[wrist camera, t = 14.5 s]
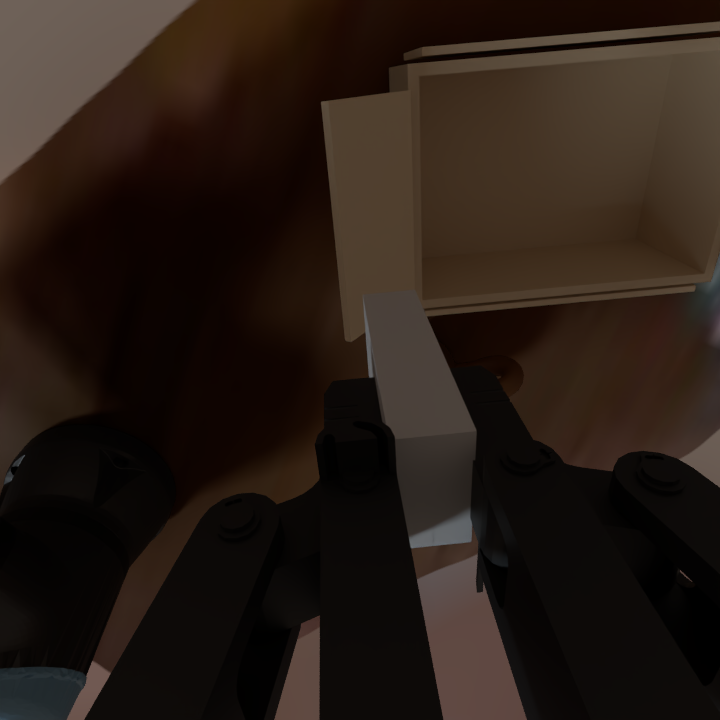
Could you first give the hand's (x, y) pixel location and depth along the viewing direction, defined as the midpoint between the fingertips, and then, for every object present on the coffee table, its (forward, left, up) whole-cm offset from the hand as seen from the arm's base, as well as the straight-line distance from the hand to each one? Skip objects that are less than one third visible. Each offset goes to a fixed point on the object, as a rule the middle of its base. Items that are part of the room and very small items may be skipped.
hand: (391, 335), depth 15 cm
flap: (+1, 0, -14) cm, 14 cm away
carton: (+13, 0, -26) cm, 29 cm away
